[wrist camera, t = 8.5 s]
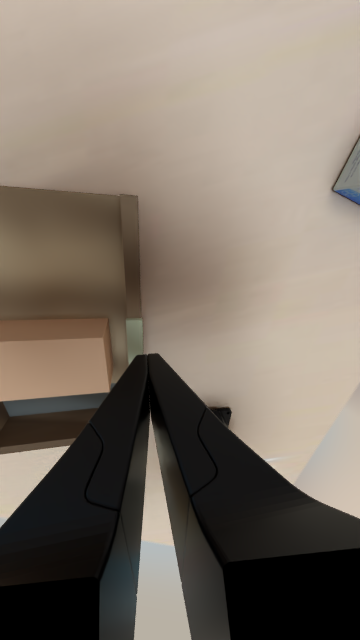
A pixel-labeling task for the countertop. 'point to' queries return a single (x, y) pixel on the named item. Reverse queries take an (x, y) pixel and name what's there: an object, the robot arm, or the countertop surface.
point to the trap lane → (67, 293)
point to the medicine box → (350, 177)
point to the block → (54, 358)
